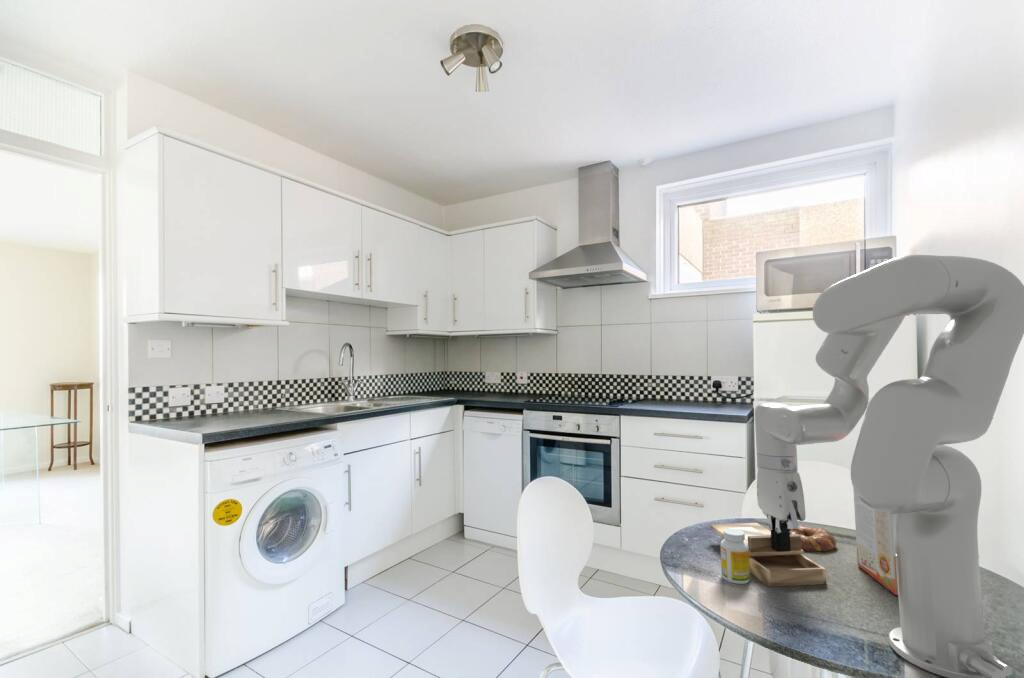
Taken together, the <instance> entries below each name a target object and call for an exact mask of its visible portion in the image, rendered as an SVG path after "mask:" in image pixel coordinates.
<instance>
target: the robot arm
mask: <svg viewBox="0 0 1024 678" xmlns="http://www.w3.org/2000/svg"><path fill="white" fill-rule="evenodd" d="M907 315H908V316H909V315H947V316H949V318H950V319H949V321H948V323H947V325H946V326H945V327H944V329H942V331H941V332H940V333H939V335H938V336H937V337H936V339H935V340H934V342H933V344H932V346H931V349H930V352H929V357H928V360H927V363H926V365H925V367H924V370H923V372H922V374H921V376H920V377H919V378H912V379H911V378H910V379H900V380H895V381H892V382H890V383H888V384H885V385H884V386H882V387H881V388H880V389H878V390H877V392H876V393H875V394H874V395H873V396H872V398H871V399H870V401H869V398H870V397H869V395H870V393H869V392H870V390H869V389H870V387H869V382H868V376H869V374H870V372H871V371H872V369H873V368H874V366H875V365H876V363H877V362H878V361H879V359H880V357H881V355H882V353H883V352H884V351H885V349H886V348H887V346H888V344H889V343H890V341H891V340H892V338H893V336H894V335H895V333H896V332H897V331H898V329H899V328H900V327H901V324H902V323H903V321H904V319H905V318H906V316H907ZM812 318H813V322H814V323H815V326H816V327H817V328H818V329H819V330H820V331H822V332H824V333H826V334H827V335H826V337H825V338H824V341H823V342H822V344H821V345H820V347H819V349H818V351H817V353H816V355H815V362H816V365H817V366H818V367H819V368H820V369H821V371H823V372H824V373H826V374H827V375H829V376H831V377H833V378H834V383H833V387H832V389H831V391H830V392H829V394H828V396H827V398H826V399H825V400H824V402H823V403H822V404H809V405H808V404H805V405H796V406H795V405H793V406H792V405H789V404H786V403H779V402H778V403H773V402H772V403H771V402H770V403H769V402H768V403H760V404H757V405H756V406H755V409H754V422H755V423H754V424H755V425H754V426H755V428H754V429H755V446H756V449H755V450H756V451H755V452H756V468H757V473H756V474H757V475H756V500H757V506H758V508H759V509H760V510H761V512H762V514H763V515H764V516H765V517H766V518H767V522H768V523H767V524H768V527H769V528H768V529H770V531H771V548H772V549H774V550H775V551H777V552H787V551H790V550H791V546H790V533H791V531H792V529H799V526H798V525H799V522H798V521H801V522H803V521H806V517H807V516H806V515H807V514H806V506H805V496H804V494H805V493H804V490H803V483H802V478H801V476H800V472H799V471H798V453H797V446H802V445H815V444H822V443H823V444H824V443H835V442H839V441H841V440H843V439H845V438H846V437H847V436H849V435H850V433H851V432H852V431H853V430H854V428H855V427H856V426H857V424H858V423H860V420H861V419H862V418H863V420H862V424H861V427H860V431H859V434H858V437H857V441H856V445H855V449H854V451H853V455H852V458H851V459H852V460H851V465H850V480H851V485H852V489H853V488H854V490H855V492H856V494H857V495H858V497H859V498H860V499H861V500H862V501H863V502H864V503H865V504H866V505H868V506H869V507H871V508H873V509H875V510H877V511H880V512H884V513H890V514H896V519H895V527H894V536H895V554H896V569H897V583H898V595H897V596H898V606H899V607H898V609H899V610H898V611H899V625H900V626H898V627H894V628H893V629H891V630H890V631H889V633H888V641H889V645H890V647H891V648H892V650H894V651H895V653H896V654H897V655H899V656H901V657H902V658H903V659H904V660H905V661H908V662H909V663H911V664H912V665H914V666H917V667H918V668H920V669H922V670H925V671H927V672H930V673H932V674H936V675H938V676H941V677H944V678H1007V677H1010V676H1011V675H1012V674H1013V669H1012V667H1011V666H1010V665H1008V664H1007V663H1005V662H1003V661H1001V660H999V658H997V656H995V655H994V647H993V646H994V645H993V643H992V642H990V641H989V640H987V639H985V636H986V635H985V625H984V624H985V623H984V613H983V611H984V610H983V600H982V586H981V584H982V583H981V574H980V564H979V563H980V561H979V559H980V555H979V543H978V541H979V540H978V522H979V521H978V520H979V510H980V504H981V499H982V498H981V497H982V479H981V475H980V472H979V471H978V468H977V467H976V465H975V463H974V462H973V461H972V460H971V459H970V458H969V457H968V456H967V455H966V454H965V453H963V452H961V450H958V449H957V448H954V447H952V446H948V445H952V444H953V445H954V444H962V443H968V442H971V441H974V440H977V439H979V438H981V437H982V436H984V435H985V434H986V433H987V432H988V430H989V428H990V426H991V424H992V421H993V419H994V415H995V413H996V410H997V407H998V405H999V401H1000V400H1001V398H1002V397H1001V396H1002V394H1003V391H1004V389H1005V386H1006V383H1007V379H1008V377H1009V374H1010V370H1011V367H1012V363H1013V361H1014V358H1015V356H1016V353H1017V352H1018V349H1019V346H1020V344H1021V342H1022V339H1023V337H1024V284H1023V282H1022V281H1021V279H1019V278H1018V277H1017V276H1016V275H1015V274H1014V273H1013V272H1011V271H1010V270H1008V269H1007V268H1005V267H1004V266H1002V265H999V264H998V263H995V262H992V261H989V260H986V259H982V258H975V257H968V256H958V255H957V256H956V255H931V254H908V255H902V256H897V257H894V258H891V259H889V260H887V261H883V262H881V263H879V264H877V265H874V266H872V267H870V268H868V269H865V270H863V271H860V272H859V273H856V274H853V275H851V276H849V277H847V278H845V279H842V280H840V281H838V282H836V283H834V284H832V285H831V286H829V287H827V288H826V289H824V291H822V292H821V293H820V294H819V295H818V297H817V298H816V300H815V302H814V304H813V308H812ZM863 416H864V417H863Z"/></svg>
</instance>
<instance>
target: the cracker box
mask: <svg viewBox="0 0 1024 678" xmlns="http://www.w3.org/2000/svg"><path fill="white" fill-rule="evenodd" d="M852 489H853V505H854V506H853V507H854V520H855V521H854V522H855V540H856V542H855V543H856V559H857V566H858V567H859V568H860V569H862V570H863V571H865V572H866V573H867V574H868V575H869V576H870V577H872V578H873V579H874V580H875V581H877V582H878V583H879V584H880V585H882V586H883V587H884V588H885V589H887V590H888V591H889V592H891V593H892V594H894V595H895V596H898V583H897V569H896V554H895V536H894V527H895V519H896V514H890V513H884V512H880V511H877V510H875V509H873V508H871V507H869V506H868V505H866V504H865V503H864V502H863V501H862V500H861V499H860V498H859V497H858V495H857V494H856V492H855V490H854V488H853V487H852Z"/></svg>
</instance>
